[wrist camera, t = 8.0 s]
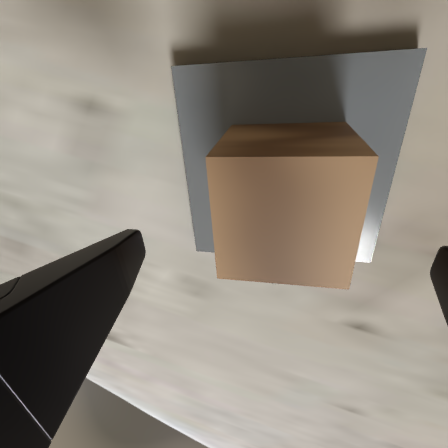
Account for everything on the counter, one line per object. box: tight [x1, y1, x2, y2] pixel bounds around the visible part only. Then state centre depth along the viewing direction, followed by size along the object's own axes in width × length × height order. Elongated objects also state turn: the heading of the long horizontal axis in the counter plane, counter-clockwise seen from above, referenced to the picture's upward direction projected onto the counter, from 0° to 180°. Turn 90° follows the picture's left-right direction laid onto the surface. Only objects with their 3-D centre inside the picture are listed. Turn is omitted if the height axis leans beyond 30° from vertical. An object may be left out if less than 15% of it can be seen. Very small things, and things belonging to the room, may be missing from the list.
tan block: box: [205, 122, 379, 289], centre depth 12 cm, size 5×5×5 cm
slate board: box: [171, 48, 427, 263], centre depth 14 cm, size 10×10×1 cm
